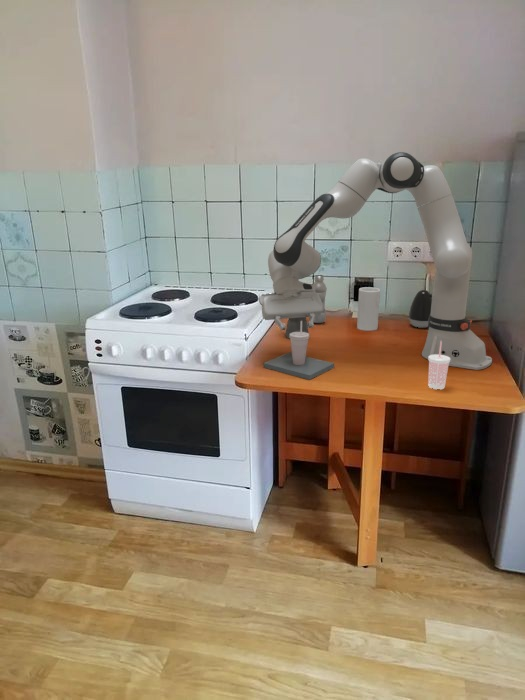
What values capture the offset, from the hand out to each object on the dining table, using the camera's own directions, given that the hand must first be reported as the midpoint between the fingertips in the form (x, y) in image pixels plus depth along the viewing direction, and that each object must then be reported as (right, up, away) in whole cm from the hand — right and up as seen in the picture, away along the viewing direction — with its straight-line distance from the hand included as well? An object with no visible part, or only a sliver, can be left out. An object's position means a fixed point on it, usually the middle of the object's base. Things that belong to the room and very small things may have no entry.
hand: (297, 328), depth 172 cm
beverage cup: (+40, -18, -14) cm, 46 cm away
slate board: (+1, -13, +2) cm, 13 cm away
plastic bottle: (+12, +4, +54) cm, 56 cm away
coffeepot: (+2, -2, +36) cm, 36 cm away
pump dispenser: (+54, +2, +49) cm, 73 cm away
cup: (+31, +2, +47) cm, 56 cm away
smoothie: (+1, -11, +2) cm, 12 cm away
